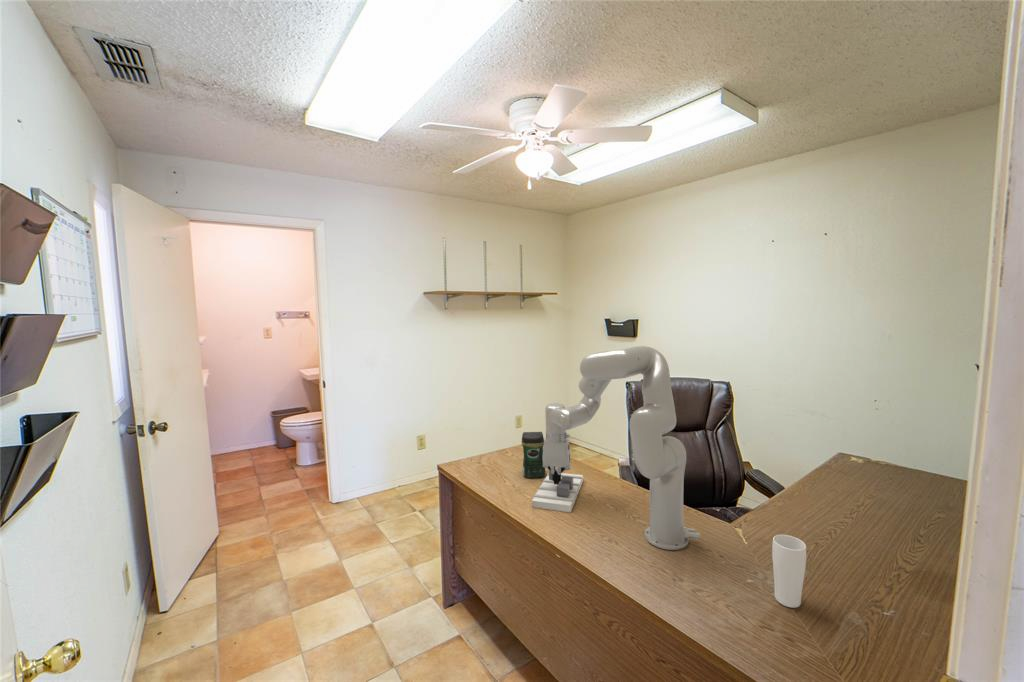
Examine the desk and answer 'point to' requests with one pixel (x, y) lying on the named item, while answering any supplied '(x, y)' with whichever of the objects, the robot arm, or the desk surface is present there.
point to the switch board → (548, 494)
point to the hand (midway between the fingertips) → (556, 483)
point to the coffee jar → (533, 454)
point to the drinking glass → (788, 569)
